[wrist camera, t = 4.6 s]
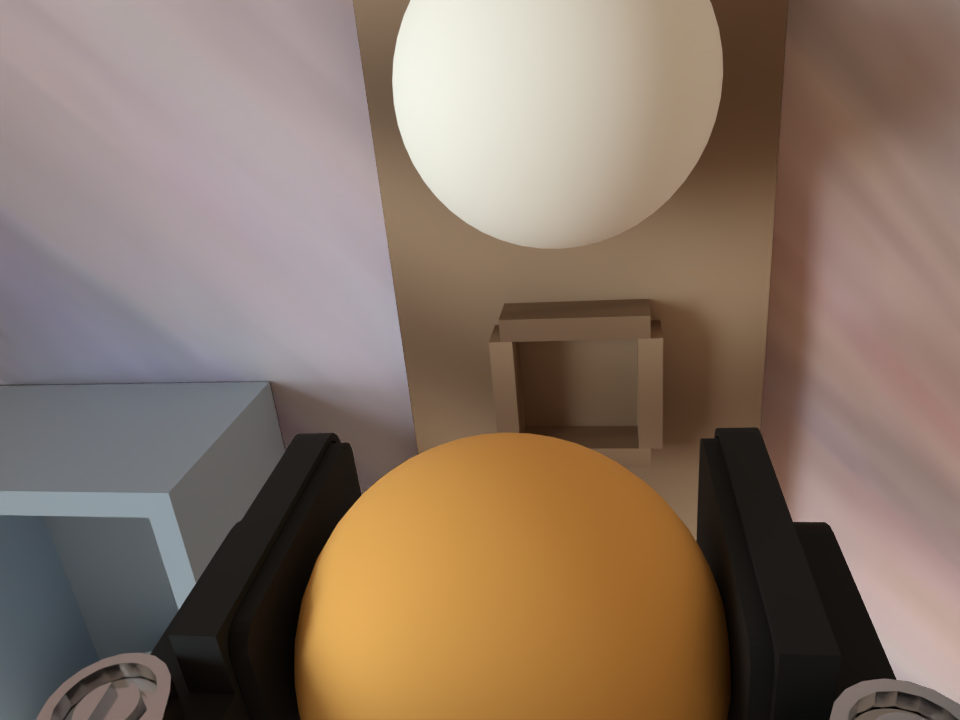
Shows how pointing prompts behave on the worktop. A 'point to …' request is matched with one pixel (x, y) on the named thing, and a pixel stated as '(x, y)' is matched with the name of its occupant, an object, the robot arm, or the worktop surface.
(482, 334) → the walnut rack
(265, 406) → the pale blue tray
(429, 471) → the orange ball
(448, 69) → the cream ball on rack
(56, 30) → the worktop surface
